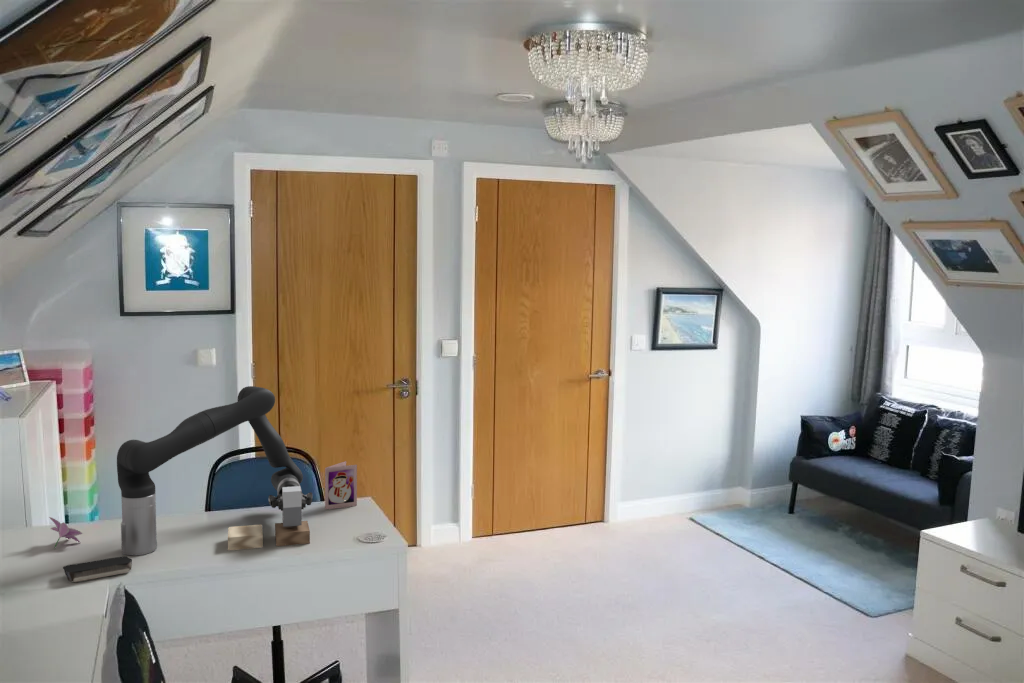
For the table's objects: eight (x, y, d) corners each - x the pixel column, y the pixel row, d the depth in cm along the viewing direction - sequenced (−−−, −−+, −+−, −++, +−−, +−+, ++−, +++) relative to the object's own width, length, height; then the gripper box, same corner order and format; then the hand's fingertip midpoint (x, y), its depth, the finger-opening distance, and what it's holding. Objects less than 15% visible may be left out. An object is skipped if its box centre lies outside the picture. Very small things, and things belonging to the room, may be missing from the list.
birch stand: (227, 550, 242) (227, 537, 242) (228, 539, 251) (228, 527, 251) (262, 547, 245) (262, 534, 245) (262, 536, 255) (261, 524, 254)
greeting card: (325, 510, 283) (325, 468, 281) (320, 504, 289) (320, 463, 288) (357, 506, 288) (357, 465, 287) (351, 500, 295) (351, 460, 293)
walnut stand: (276, 546, 246) (276, 533, 246) (275, 535, 256) (275, 523, 256) (309, 543, 250) (309, 530, 249) (307, 532, 259) (307, 520, 259)
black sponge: (66, 586, 214) (66, 573, 214) (63, 576, 221) (63, 563, 221) (133, 574, 223) (133, 562, 223) (128, 565, 230) (128, 552, 230)
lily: (83, 552, 241) (92, 523, 244) (44, 545, 234) (54, 515, 238) (71, 554, 248) (80, 525, 252) (33, 547, 242) (43, 518, 245)
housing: (283, 526, 249) (283, 492, 248) (282, 521, 254) (282, 487, 253) (301, 525, 251) (301, 490, 249) (300, 519, 256) (300, 486, 255)
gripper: (266, 481, 262) (268, 496, 247) (311, 479, 267) (316, 493, 251) (266, 504, 263) (268, 520, 247) (311, 501, 268) (316, 516, 252)
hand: (292, 506), depth 249 cm, fingers closed on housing, 5 cm apart
